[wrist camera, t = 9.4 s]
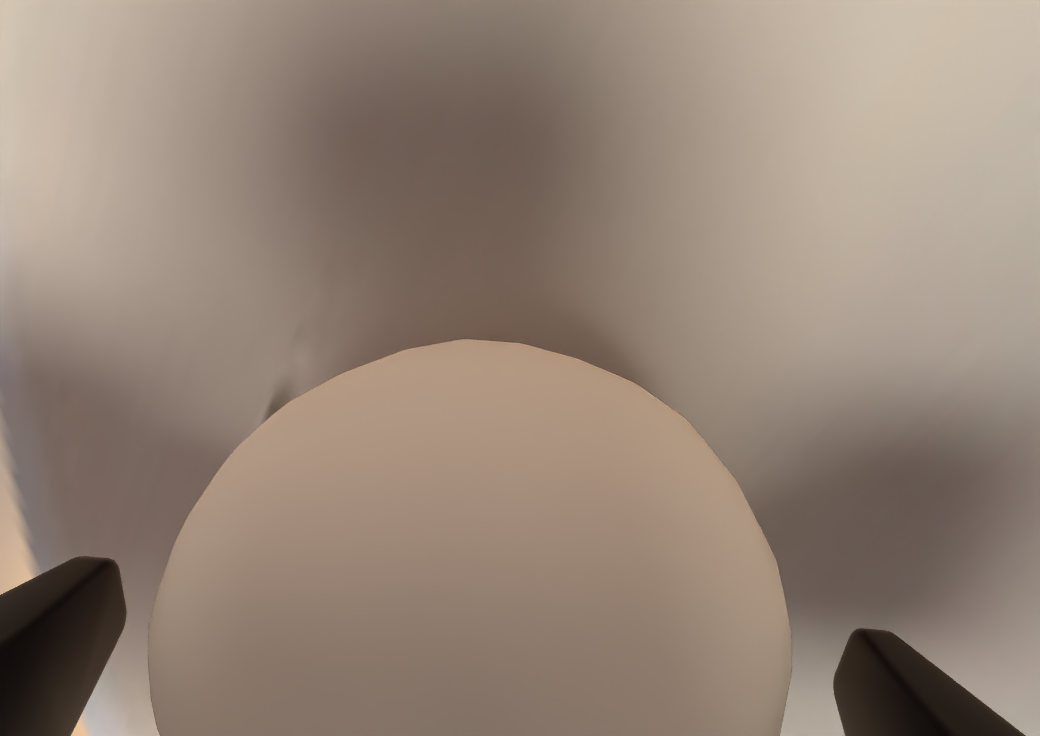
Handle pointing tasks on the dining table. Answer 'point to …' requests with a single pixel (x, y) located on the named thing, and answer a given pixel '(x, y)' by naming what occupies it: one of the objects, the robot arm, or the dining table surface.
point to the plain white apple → (471, 565)
